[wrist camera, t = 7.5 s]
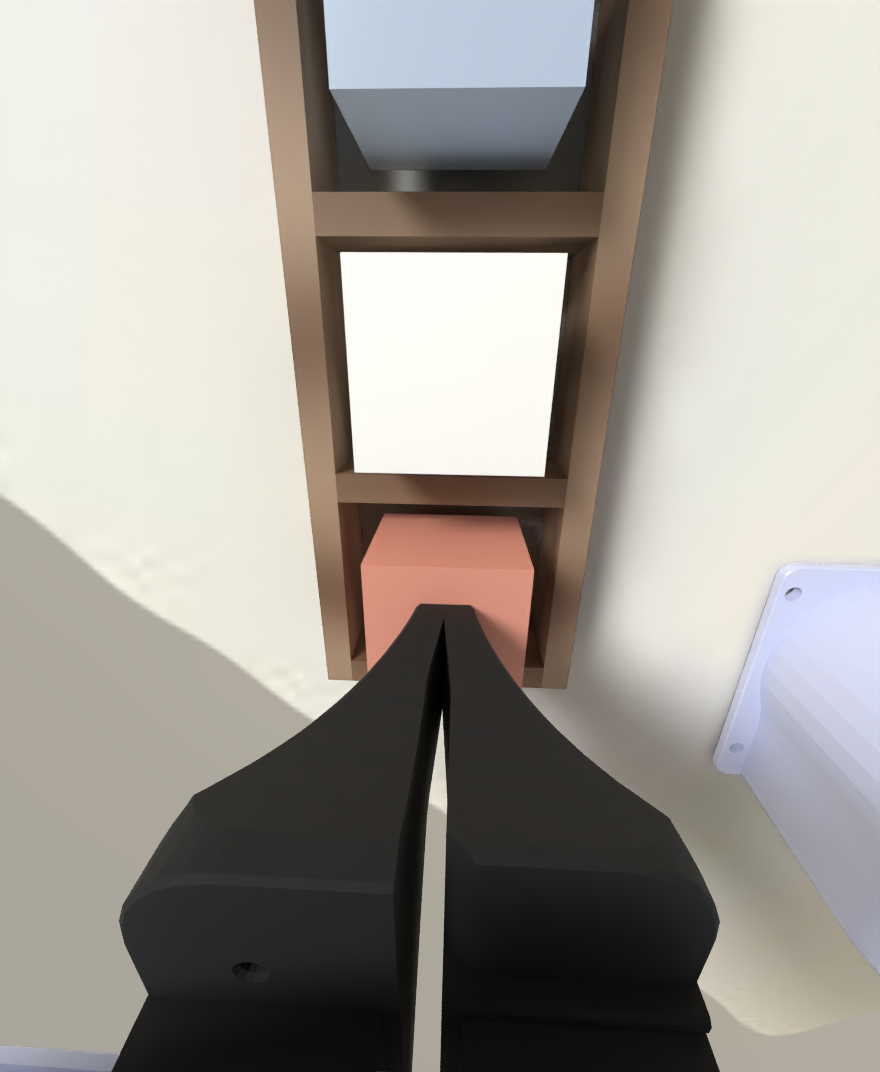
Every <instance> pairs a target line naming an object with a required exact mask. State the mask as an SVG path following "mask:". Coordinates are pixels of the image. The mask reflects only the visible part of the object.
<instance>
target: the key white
mask: <svg viewBox="0 0 880 1072" xmlns="http://www.w3.org/2000/svg"><path fill="white" fill-rule="evenodd" d="M567 256H568V253H424V252H340V259H341V274H342V289H343V305H344V320H345V335H346V350H347V365H348V380H349V396H350V411H351V426H352V441H353V456H354V471H355V472H358V473H403V474H447V475H492V476H537V477H544V474H545V465H546V455H547V446H548V436H549V427H550V417H551V408H552V398H553V389H554V379H555V370H556V360H557V351H558V342H559V332H560V323H561V313H562V304H563V294H564V285H565V275H566V266H567Z"/></svg>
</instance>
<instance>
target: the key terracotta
mask: <svg viewBox="0 0 880 1072" xmlns="http://www.w3.org/2000/svg"><path fill="white" fill-rule="evenodd" d="M361 578H362V593H363V608H364V623H365V638H366V654H367V669H368V671H369V670H370V669H371V668H372V667H373V666H374V665H375V663H376V662H377V661H378V660H379V659H380V658H381V657H382V655H383V654H384V653H385V652H386V651H387V649H388V648H389V647H390V645H391V644H392V643H393V641H394V640H395V639H396V638H397V636H398V635H399V634H400V632H401V631H402V629H403V628H404V626H405V625H406V623H407V622H408V620H409V619H410V617H411V615H412V614H413V612H414V610H415V608H416V607H417V606H418V605H419V604H420V603H421V604H451V605H471V606H472V608H473V609H474V610H475V613H476V616H477V619H478V621H479V623H480V625H481V627H482V629H483V631H484V633H485V635H486V637H487V639H488V641H489V643H490V644H491V646H492V648H493V649H494V651H495V653H496V654H497V656H498V658H499V659H500V661H501V662H502V664H503V665H504V667H505V668H506V670H507V671H508V672H509V674H510V675H511V677H512V678H513V679H514V681H515V682H516V683H517V685H518V686H519V687H520V689H521V690H522V682H523V673H524V663H525V654H526V645H527V635H528V626H529V616H530V607H531V597H532V588H533V578H534V568H533V565H532V562H531V558H530V555H529V552H528V549H527V546H526V543H525V540H524V537H523V534H522V531H521V528H520V525H519V522H518V519H517V517H513V516H474V515H435V514H396V513H385V514H384V516H383V518H382V520H381V522H380V524H379V527H378V529H377V531H376V533H375V535H374V537H373V539H372V542H371V544H370V546H369V548H368V550H367V552H366V555H365V557H364V559H363V561H362V563H361Z"/></svg>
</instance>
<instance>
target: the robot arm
mask: <svg viewBox="0 0 880 1072" xmlns="http://www.w3.org/2000/svg"><path fill="white" fill-rule="evenodd" d="M791 588H794V589H793V590H792V592H790V593H789V594H787V595H785V594H786V592H787V591H788V590H789V589H791ZM442 710H443V729H444V747H445V765H446V782H447V833H446V870H445V912H444V949H443V983H442V1021H441V1061H440V1064H441V1065H440V1072H720V1071H719V1068H718V1066H717V1063H716V1060H715V1057H714V1054H713V1052H712V1049H711V1046H710V1043H709V1040H708V1038H707V1035H706V1033H709V1032H710V1030H711V1028H712V1027H711V1020H710V1016H709V1013H708V1010H707V1008H706V1005H705V1002H704V1000H703V997H702V994H701V991H700V989H699V986H698V983H697V980H698V978H699V976H700V974H701V971H702V969H703V967H704V965H705V963H706V960H707V958H708V956H709V954H710V951H711V949H712V947H713V945H714V942H715V940H716V937H717V932H718V927H719V923H720V921H719V917H718V913H717V910H716V906H715V903H714V901H713V899H712V897H711V894H710V892H709V890H708V888H707V886H706V884H705V881H704V879H703V877H702V875H701V873H700V871H699V869H698V867H697V865H696V863H695V862H694V860H693V858H692V856H691V855H690V853H689V851H688V849H687V848H686V846H685V844H684V842H683V841H682V839H681V837H680V836H679V834H678V832H677V831H676V829H675V827H674V825H673V824H672V822H671V820H670V819H669V818H668V817H667V816H666V815H664V814H663V813H661V812H660V811H658V810H657V809H656V808H654V807H653V806H651V805H650V804H649V803H647V802H646V801H644V800H643V799H641V798H640V797H639V796H637V795H636V794H634V793H633V792H632V791H630V790H629V789H627V788H626V787H624V786H623V785H622V784H620V783H619V782H617V781H616V780H615V779H613V778H612V777H611V776H610V775H608V774H607V773H606V772H605V771H603V770H602V769H601V768H600V767H598V766H597V765H596V764H595V763H594V762H592V761H591V760H590V759H589V758H587V757H586V756H585V755H584V754H583V753H582V752H581V751H579V750H578V749H577V748H576V747H575V746H574V745H573V744H572V743H571V742H570V741H569V740H568V739H567V738H565V737H564V736H563V735H562V734H561V733H560V732H559V731H558V730H557V729H556V728H555V727H554V726H553V725H552V724H551V723H550V722H549V721H548V720H547V719H546V718H545V717H544V716H543V714H542V713H541V712H540V711H539V710H538V709H537V708H536V707H535V706H534V704H533V703H532V702H531V701H530V700H529V699H528V697H527V696H526V695H525V694H524V692H523V691H522V690H521V689H520V687H519V686H518V685H517V683H516V682H515V681H514V679H513V678H512V677H511V675H510V674H509V672H508V671H507V670H506V668H505V667H504V665H503V664H502V662H501V661H500V659H499V658H498V656H497V654H496V653H495V651H494V649H493V648H492V646H491V644H490V643H489V641H488V639H487V637H486V635H485V633H484V631H483V629H482V627H481V625H480V623H479V621H478V619H477V616H476V613H475V610H474V609H473V608H472V606H471V605H451V604H421V603H420V604H419V605H418V606H417V607H416V608H415V610H414V612H413V614H412V615H411V617H410V619H409V620H408V622H407V623H406V625H405V626H404V628H403V629H402V631H401V632H400V634H399V635H398V636H397V638H396V639H395V640H394V641H393V643H392V644H391V645H390V647H389V648H388V649H387V651H386V652H385V653H384V654H383V655H382V657H381V658H380V659H379V660H378V661H377V662H376V663H375V665H374V666H373V667H372V668H371V669H370V670H369V671H368V673H367V674H366V675H365V676H364V677H363V678H362V679H361V680H360V681H359V682H358V683H357V684H356V685H355V686H354V687H353V688H352V689H351V690H350V691H349V692H348V693H347V694H345V695H344V696H343V697H342V698H341V699H340V700H339V701H338V702H337V703H336V704H334V705H333V706H332V707H331V708H330V709H328V710H327V711H326V712H325V713H324V714H322V715H321V716H320V717H319V718H318V719H316V720H315V721H314V722H312V723H311V724H310V725H309V726H307V727H306V728H305V729H303V730H302V731H301V732H299V733H298V734H296V735H295V736H294V737H292V738H291V739H289V740H288V741H286V742H285V743H283V744H282V745H280V746H279V747H277V748H275V749H274V750H273V751H271V752H269V753H268V754H266V755H265V756H263V757H261V758H260V759H258V760H256V761H255V762H253V763H252V764H250V765H248V766H246V767H244V768H243V769H241V770H239V771H237V772H235V773H234V774H232V775H230V776H228V777H226V778H225V779H223V780H221V781H219V782H217V783H215V784H214V785H212V786H210V787H208V788H207V789H205V790H203V791H201V792H199V793H197V794H195V795H193V797H192V798H191V800H190V801H189V803H188V804H187V806H186V807H185V808H184V810H183V811H182V812H181V814H180V815H179V816H178V818H177V819H176V820H175V822H174V823H173V824H172V826H171V827H170V829H169V830H168V832H167V833H166V835H165V836H164V838H163V839H162V841H161V843H160V844H159V846H158V848H157V849H156V851H155V853H154V854H153V856H152V857H151V859H150V861H149V862H148V864H147V866H146V867H145V869H144V871H143V872H142V874H141V876H140V877H139V879H138V881H137V882H136V884H135V886H134V887H133V889H132V890H131V892H130V894H129V896H128V897H127V899H126V900H125V902H124V904H123V906H122V910H121V915H120V919H119V922H120V927H121V931H122V935H123V939H124V943H125V946H126V948H127V950H128V952H129V954H130V956H131V958H132V961H133V963H134V965H135V967H136V969H137V971H138V973H139V975H140V978H141V980H142V981H143V983H144V986H145V988H146V990H147V992H148V994H149V995H148V997H147V999H146V1001H145V1003H144V1005H143V1007H142V1009H141V1011H140V1013H139V1016H138V1017H137V1019H136V1021H135V1023H134V1026H133V1028H132V1030H131V1032H130V1034H129V1036H128V1038H127V1040H126V1042H125V1044H124V1046H123V1048H122V1050H121V1052H120V1053H113V1052H99V1051H98V1052H97V1051H84V1050H69V1049H56V1048H42V1047H28V1046H14V1045H0V1072H412V1058H413V1040H414V1022H415V1021H414V1020H415V1005H416V987H417V970H418V969H417V968H418V953H419V952H418V951H419V935H420V918H421V901H422V885H423V869H424V852H425V837H426V822H427V810H428V801H429V793H430V787H431V780H432V773H433V767H434V760H435V754H436V747H437V740H438V734H439V727H440V720H441V714H442ZM712 762H713V764H714V765H715V767H716V769H717V770H718V771H719V772H721V773H724V774H736V775H742V777H743V778H744V780H745V781H746V783H747V784H748V786H749V787H750V789H751V790H752V792H753V793H754V795H755V796H756V798H757V800H758V801H759V803H760V804H761V806H762V807H763V809H764V810H765V812H766V813H767V815H768V816H769V818H770V819H771V821H772V822H773V824H774V825H775V827H776V829H777V830H778V832H779V833H780V835H781V836H782V838H783V839H784V841H785V842H786V844H787V845H788V847H789V848H790V850H791V851H792V853H793V855H794V856H795V858H796V859H797V861H798V862H799V864H800V865H801V867H802V868H803V870H804V871H805V873H806V874H807V876H808V877H809V879H810V880H811V882H812V884H813V885H814V887H815V888H816V890H817V891H818V893H819V894H820V896H821V897H822V899H823V900H824V902H825V903H826V905H827V906H828V908H829V910H830V911H831V913H832V914H833V916H834V917H835V919H836V920H837V922H838V923H839V925H840V926H841V928H842V929H843V931H844V932H845V934H846V935H847V936H848V938H849V939H850V940H851V942H852V943H853V944H854V946H855V947H856V948H857V950H858V951H859V952H860V953H861V955H862V956H863V957H864V958H865V959H866V960H867V962H868V963H869V964H870V965H871V966H872V967H873V968H874V970H875V971H876V972H877V973H878V974H879V975H880V565H855V564H820V563H791V564H788V565H786V566H784V567H782V568H781V569H780V570H779V571H778V573H777V575H776V577H775V580H774V583H773V585H772V588H771V591H770V594H769V597H768V600H767V603H766V606H765V609H764V611H763V614H762V617H761V620H760V623H759V626H758V629H757V632H756V635H755V637H754V640H753V643H752V646H751V649H750V652H749V655H748V658H747V661H746V663H745V666H744V669H743V672H742V675H741V678H740V681H739V684H738V687H737V689H736V692H735V695H734V698H733V701H732V704H731V707H730V710H729V712H728V715H727V718H726V721H725V724H724V727H723V730H722V733H721V736H720V738H719V741H718V744H717V747H716V750H715V753H714V756H713V760H712Z"/></svg>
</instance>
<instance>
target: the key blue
mask: <svg viewBox="0 0 880 1072" xmlns="http://www.w3.org/2000/svg"><path fill="white" fill-rule="evenodd" d="M323 1H324V16H325V32H326V47H327V62H328V77H329V89H330V91H331V93H332V95H333V97H334V99H335V101H336V103H337V105H338V107H339V109H340V111H341V113H342V115H343V117H344V119H345V121H346V123H347V125H348V127H349V129H350V131H351V132H352V134H353V136H354V138H355V140H356V142H357V144H358V146H359V148H360V150H361V152H362V154H363V156H364V158H365V160H366V162H367V164H368V166H369V168H370V170H546V168H547V166H548V164H549V162H550V160H551V158H552V156H553V154H554V152H555V150H556V147H557V145H558V143H559V141H560V139H561V137H562V135H563V133H564V131H565V129H566V126H567V124H568V122H569V120H570V118H571V116H572V114H573V112H574V110H575V108H576V105H577V103H578V101H579V99H580V97H581V95H582V93H583V91H584V89H585V86H586V77H587V67H588V58H589V48H590V39H591V29H592V20H593V10H594V1H595V0H323Z"/></svg>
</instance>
